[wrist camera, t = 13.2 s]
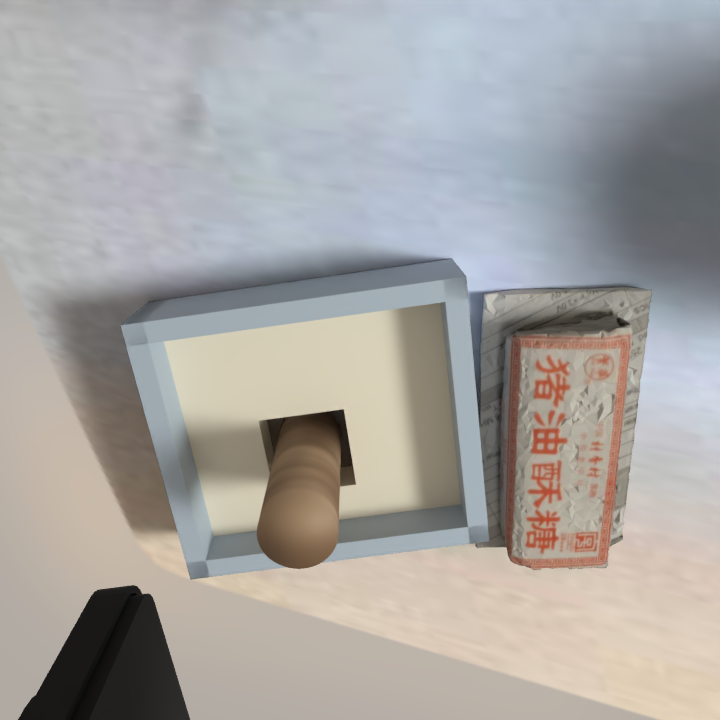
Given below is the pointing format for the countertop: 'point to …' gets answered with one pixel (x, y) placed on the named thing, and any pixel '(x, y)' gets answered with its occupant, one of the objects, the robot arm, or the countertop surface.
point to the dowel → (303, 492)
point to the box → (316, 408)
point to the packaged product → (559, 419)
